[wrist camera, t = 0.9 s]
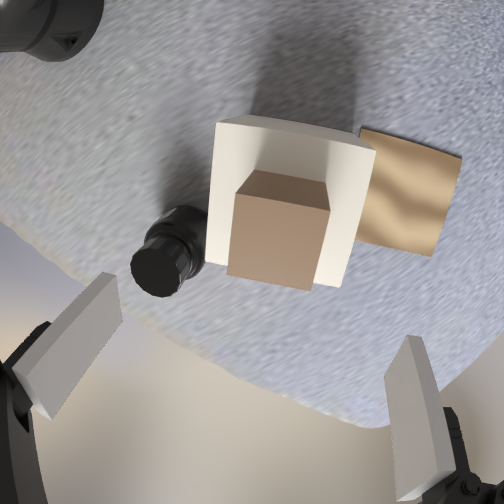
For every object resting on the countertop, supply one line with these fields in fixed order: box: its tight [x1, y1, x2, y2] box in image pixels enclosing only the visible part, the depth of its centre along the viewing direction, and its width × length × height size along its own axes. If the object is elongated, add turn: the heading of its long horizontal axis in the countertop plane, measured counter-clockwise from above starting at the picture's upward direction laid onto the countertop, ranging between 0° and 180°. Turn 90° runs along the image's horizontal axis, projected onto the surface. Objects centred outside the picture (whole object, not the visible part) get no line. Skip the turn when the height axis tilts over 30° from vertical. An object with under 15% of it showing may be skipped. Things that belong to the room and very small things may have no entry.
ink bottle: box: [130, 206, 208, 298], centre depth 41 cm, size 10×9×12 cm
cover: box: [205, 115, 376, 291], centre depth 30 cm, size 13×13×22 cm
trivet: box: [354, 128, 462, 257], centre depth 38 cm, size 15×15×1 cm
